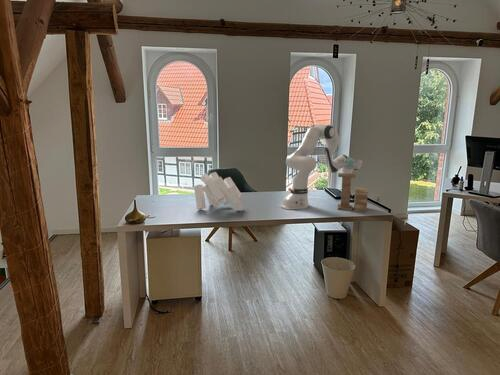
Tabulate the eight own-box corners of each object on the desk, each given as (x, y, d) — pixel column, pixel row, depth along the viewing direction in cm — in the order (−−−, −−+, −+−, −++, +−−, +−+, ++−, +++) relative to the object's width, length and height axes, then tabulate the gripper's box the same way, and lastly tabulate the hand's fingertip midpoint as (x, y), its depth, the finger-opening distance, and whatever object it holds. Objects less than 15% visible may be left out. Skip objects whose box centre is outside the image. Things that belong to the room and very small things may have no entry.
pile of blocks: (245, 210, 276) (232, 169, 282) (247, 206, 247) (231, 160, 252) (203, 224, 273) (190, 182, 278) (199, 221, 244) (185, 175, 249)
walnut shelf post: (336, 206, 269) (338, 172, 264) (352, 206, 267) (354, 173, 261) (336, 209, 260) (338, 175, 254) (353, 210, 257) (355, 175, 251)
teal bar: (347, 161, 280) (347, 156, 279) (351, 161, 279) (351, 157, 278) (348, 165, 259) (348, 160, 258) (352, 165, 258) (353, 161, 257)
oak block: (354, 206, 267) (355, 187, 264) (365, 207, 265) (366, 188, 262) (354, 211, 256) (356, 191, 253) (366, 211, 254) (367, 191, 251)
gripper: (335, 161, 291) (336, 155, 279) (361, 162, 287) (363, 155, 274) (335, 168, 290) (335, 162, 277) (361, 169, 285) (362, 163, 272)
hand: (349, 159), depth 275 cm, fingers closed on teal bar, 3 cm apart
